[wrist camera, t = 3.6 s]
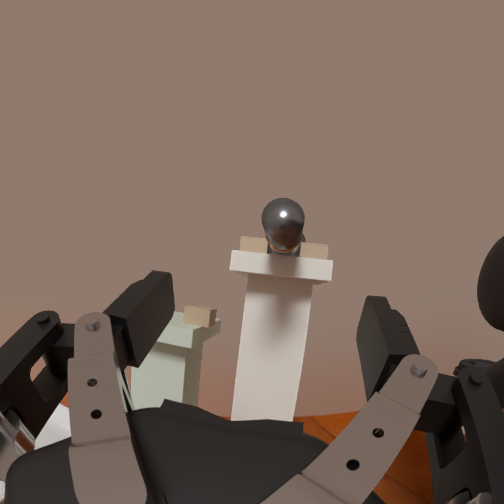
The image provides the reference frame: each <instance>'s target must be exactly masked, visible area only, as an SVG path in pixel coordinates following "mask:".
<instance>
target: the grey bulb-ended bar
mask: <svg viewBox="0 0 504 504" xmlns="http://www.w3.org/2000/svg"><path fill="white" fill-rule="evenodd" d="M304 220H305V219H304V213H303V210H302V208H301V207H300V205H299V204H298V203H296V202H295V201H293V200H291V199H288V198H279V199H275V200H273V201H271V202H270V203H268V204H267V206H266V207H265V208H264V210H263V213H262V224H263V227H264V230H265V233H266V239H267V242H268V243H269V245H270V247H269V254H276V255H285V256H295V257H299V252H300V245H301V242H304V243H306V241H305V237H304V235H303V233H302V230H303V226H304Z"/></svg>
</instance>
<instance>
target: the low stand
mask: <svg viewBox="0 0 504 504" xmlns="http://www.w3.org/2000/svg"><path fill="white" fill-rule="evenodd" d="M216 312H217V309H214V308H208V307H201V306H195V305H191V306H185V311H184V313H180V312H175V311H174V314H173V317H172V319H171V320H170V322H169V323H168V325H167V326H166V328H165V329H164V331H163V332H162V334H161V335H160V337H159V338H158V340H157V341H156V343H155V344H154V346H153V347H152V349H151V350H150V352H149V353H148V355H147V356H146V358H145V359H144V361H143V362H142V364H141V365H140V367H139V368H136V367H132V378H131V379H132V381H131V396H132V400H133V404H134V407H135V410H137V409H141V408H149V407H161V405H162V403H163V401H164V399H168V400H172V401H176V402H180V403H184V404H188V405H192V406H196V407H197V402H198V391H199V380H200V369H201V359H202V349H203V342H204V341H206V340H207V339H209V338H211V337H213V336H215V335H216V334H218V333H219V332H220V326H221V319H217V318H216Z"/></svg>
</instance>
